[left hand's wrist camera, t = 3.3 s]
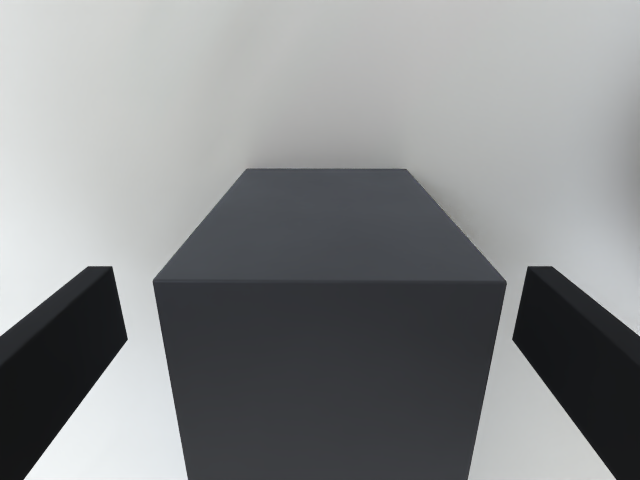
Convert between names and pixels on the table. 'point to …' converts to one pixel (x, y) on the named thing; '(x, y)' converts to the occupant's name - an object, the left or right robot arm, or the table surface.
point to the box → (328, 331)
